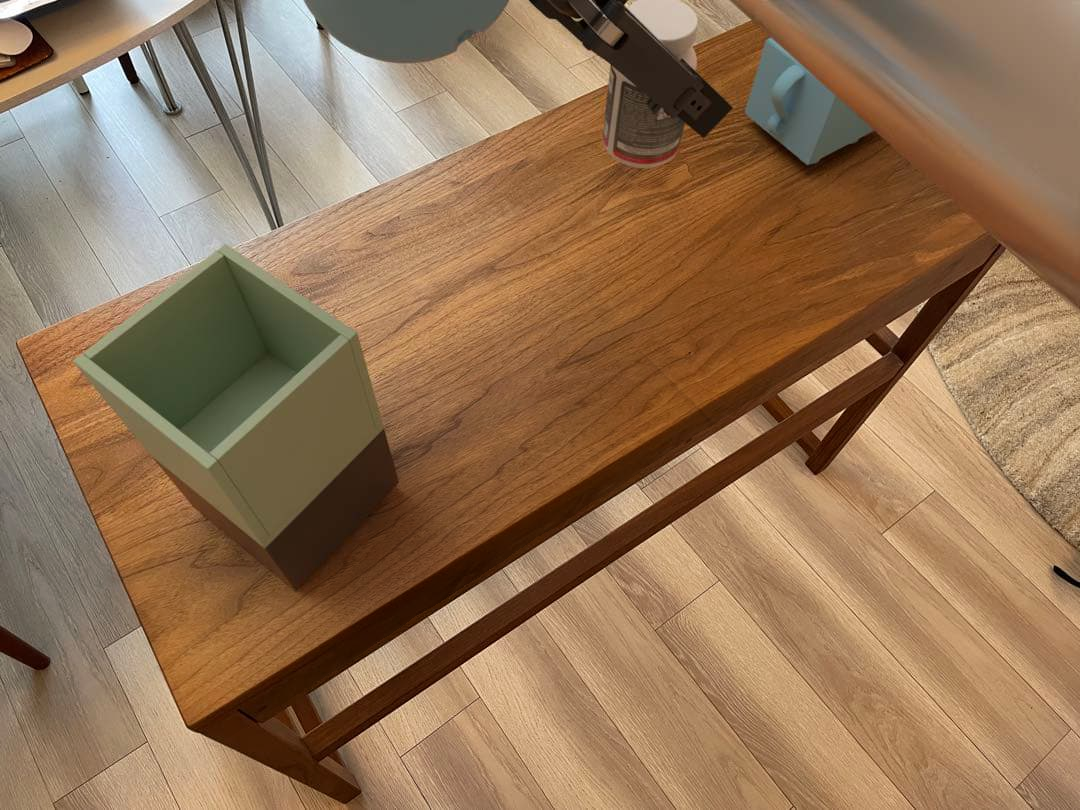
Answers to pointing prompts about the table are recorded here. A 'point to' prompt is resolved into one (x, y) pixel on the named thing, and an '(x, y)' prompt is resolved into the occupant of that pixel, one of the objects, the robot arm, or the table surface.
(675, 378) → the table surface
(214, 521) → the waste bin
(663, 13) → the pill bottle
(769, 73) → the teapot
